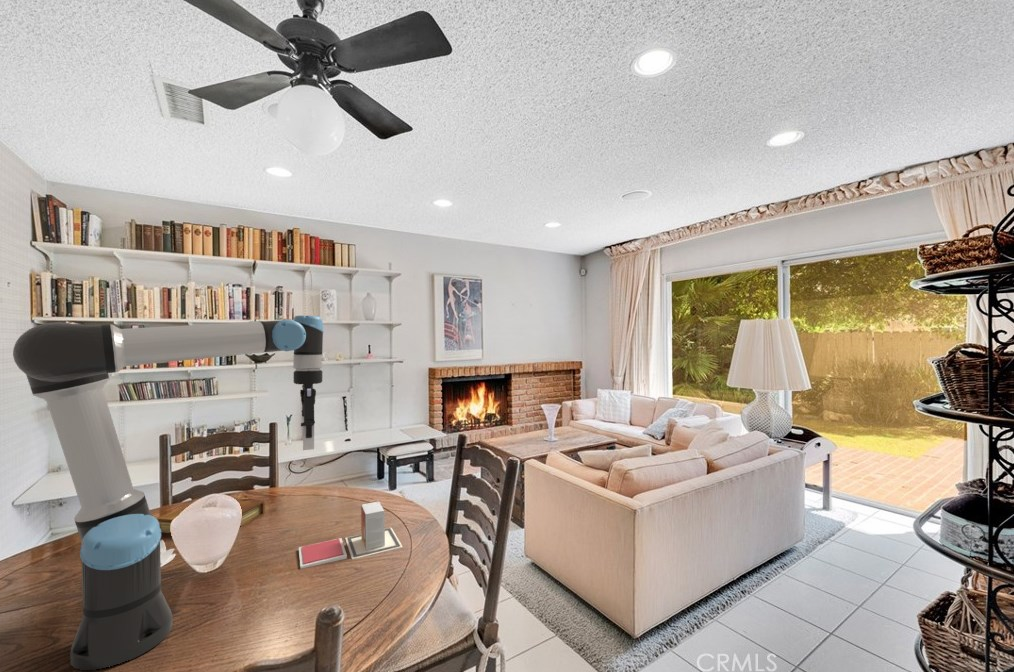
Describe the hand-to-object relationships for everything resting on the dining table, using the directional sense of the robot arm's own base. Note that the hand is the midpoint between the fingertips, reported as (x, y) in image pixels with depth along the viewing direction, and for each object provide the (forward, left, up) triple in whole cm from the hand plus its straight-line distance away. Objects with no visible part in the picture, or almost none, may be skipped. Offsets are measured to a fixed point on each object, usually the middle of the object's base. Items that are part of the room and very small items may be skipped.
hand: (307, 444), depth 122 cm
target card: (-4, -17, -31) cm, 36 cm away
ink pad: (-4, -3, -31) cm, 32 cm away
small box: (-4, -17, -31) cm, 36 cm away
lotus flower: (+10, +40, -32) cm, 52 cm away
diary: (+36, +27, -32) cm, 55 cm away
